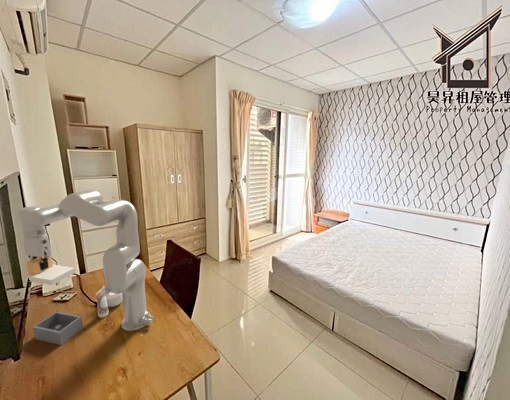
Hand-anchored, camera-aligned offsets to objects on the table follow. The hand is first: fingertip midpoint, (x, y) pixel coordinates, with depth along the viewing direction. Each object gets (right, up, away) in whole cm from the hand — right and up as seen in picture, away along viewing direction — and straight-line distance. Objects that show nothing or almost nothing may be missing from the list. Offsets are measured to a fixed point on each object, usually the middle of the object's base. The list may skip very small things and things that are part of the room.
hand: (40, 267), depth 111 cm
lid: (+5, -4, 0) cm, 7 cm away
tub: (+17, -27, -9) cm, 33 cm away
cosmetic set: (+29, -23, +12) cm, 38 cm away
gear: (+18, -16, +20) cm, 32 cm away
